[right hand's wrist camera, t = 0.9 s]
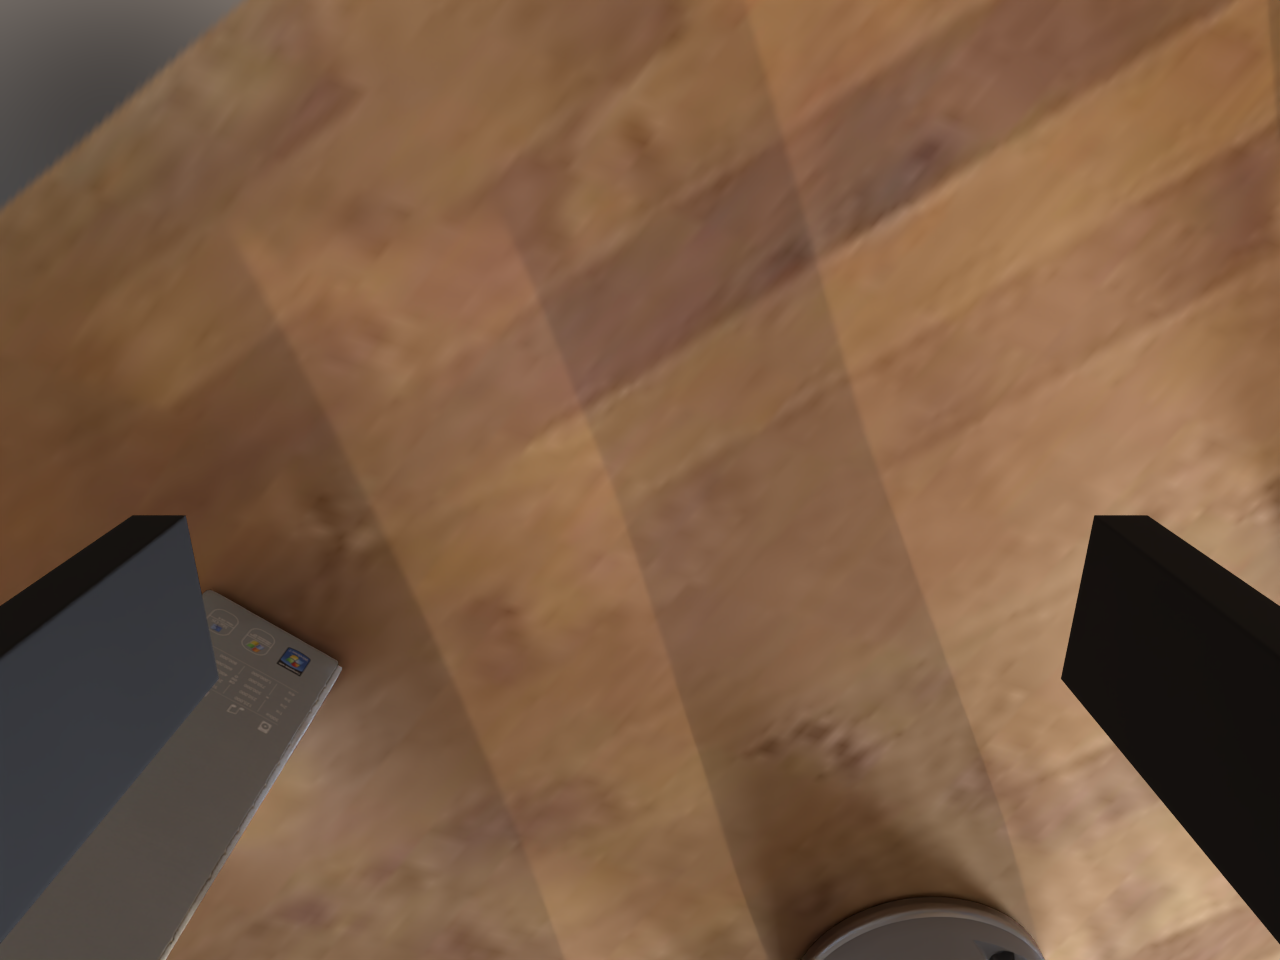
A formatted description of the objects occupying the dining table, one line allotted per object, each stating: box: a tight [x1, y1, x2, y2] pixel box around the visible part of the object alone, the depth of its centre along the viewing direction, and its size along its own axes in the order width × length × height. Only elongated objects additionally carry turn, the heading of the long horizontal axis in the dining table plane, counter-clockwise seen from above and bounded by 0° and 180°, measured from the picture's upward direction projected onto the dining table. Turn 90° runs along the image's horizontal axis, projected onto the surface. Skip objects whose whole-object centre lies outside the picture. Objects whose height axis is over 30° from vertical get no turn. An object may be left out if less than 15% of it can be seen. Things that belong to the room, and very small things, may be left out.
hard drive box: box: [0, 590, 342, 960], centre depth 34 cm, size 16×8×20 cm, turn 144°
